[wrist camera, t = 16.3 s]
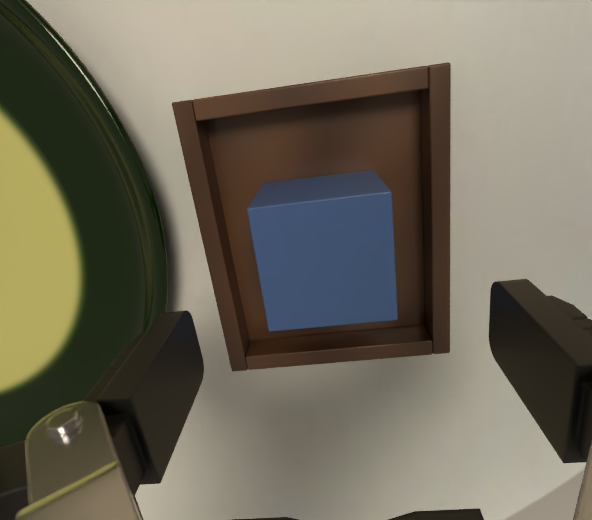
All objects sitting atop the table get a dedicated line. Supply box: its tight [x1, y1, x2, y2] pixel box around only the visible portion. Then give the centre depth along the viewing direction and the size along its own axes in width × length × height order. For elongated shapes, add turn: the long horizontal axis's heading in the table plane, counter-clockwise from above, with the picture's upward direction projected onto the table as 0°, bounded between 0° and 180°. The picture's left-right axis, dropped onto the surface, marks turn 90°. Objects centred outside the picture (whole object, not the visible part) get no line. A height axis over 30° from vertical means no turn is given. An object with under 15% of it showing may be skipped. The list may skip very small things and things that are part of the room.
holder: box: [172, 63, 450, 371], centre depth 19 cm, size 11×13×2 cm
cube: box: [247, 170, 398, 331], centre depth 17 cm, size 5×5×4 cm
